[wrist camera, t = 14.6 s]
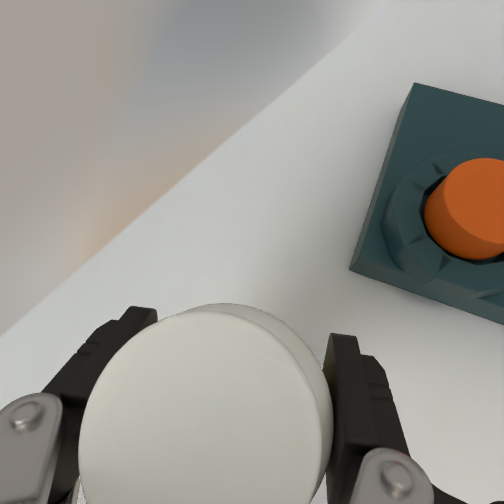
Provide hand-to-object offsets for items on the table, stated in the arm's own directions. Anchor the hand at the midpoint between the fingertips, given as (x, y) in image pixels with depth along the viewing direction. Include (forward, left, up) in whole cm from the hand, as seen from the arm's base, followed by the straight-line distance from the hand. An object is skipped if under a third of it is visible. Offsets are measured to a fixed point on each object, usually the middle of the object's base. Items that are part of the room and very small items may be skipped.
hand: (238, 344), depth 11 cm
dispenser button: (+7, +9, -4) cm, 13 cm away
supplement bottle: (+1, -2, -5) cm, 5 cm away
